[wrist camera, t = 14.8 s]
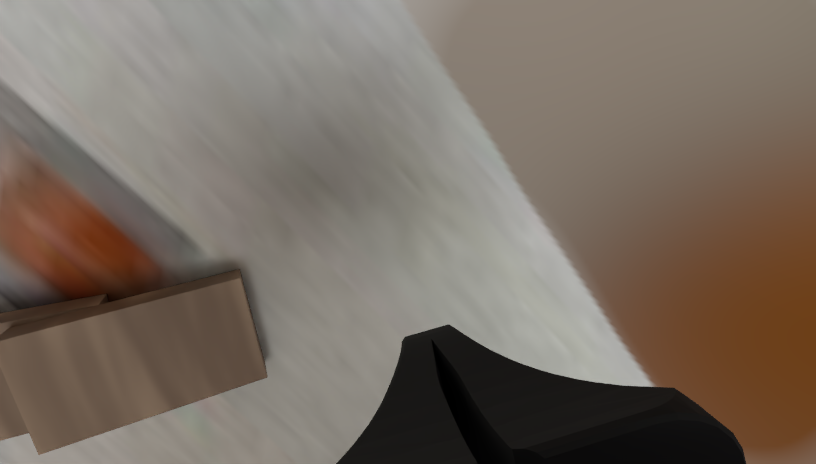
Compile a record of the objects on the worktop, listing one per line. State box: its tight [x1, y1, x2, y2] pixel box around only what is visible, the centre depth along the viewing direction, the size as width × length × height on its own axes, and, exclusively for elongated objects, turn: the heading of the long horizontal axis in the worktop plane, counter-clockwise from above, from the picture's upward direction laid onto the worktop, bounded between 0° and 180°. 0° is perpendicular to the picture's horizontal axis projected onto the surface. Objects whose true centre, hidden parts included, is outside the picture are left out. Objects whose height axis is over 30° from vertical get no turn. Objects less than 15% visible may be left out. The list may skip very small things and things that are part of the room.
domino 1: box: [0, 269, 267, 455], centre depth 19 cm, size 2×5×9 cm
